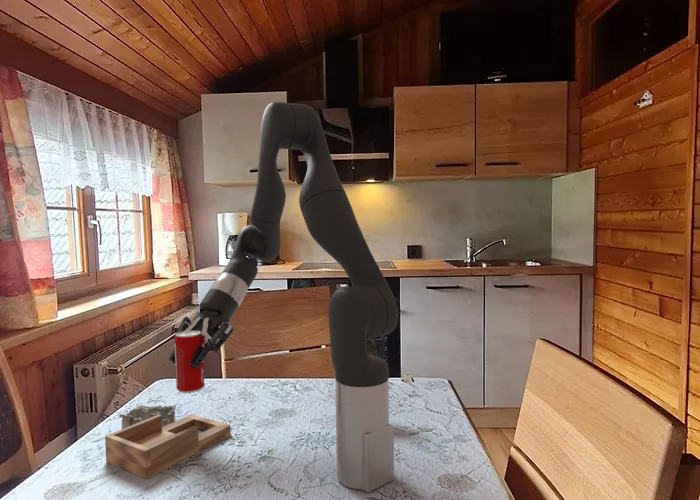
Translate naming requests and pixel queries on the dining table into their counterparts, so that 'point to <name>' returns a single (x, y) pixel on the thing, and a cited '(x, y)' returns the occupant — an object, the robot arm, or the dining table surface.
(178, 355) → the soda can
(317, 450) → the dining table surface
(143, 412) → the grey piece
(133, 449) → the two-compartment wooden tray
